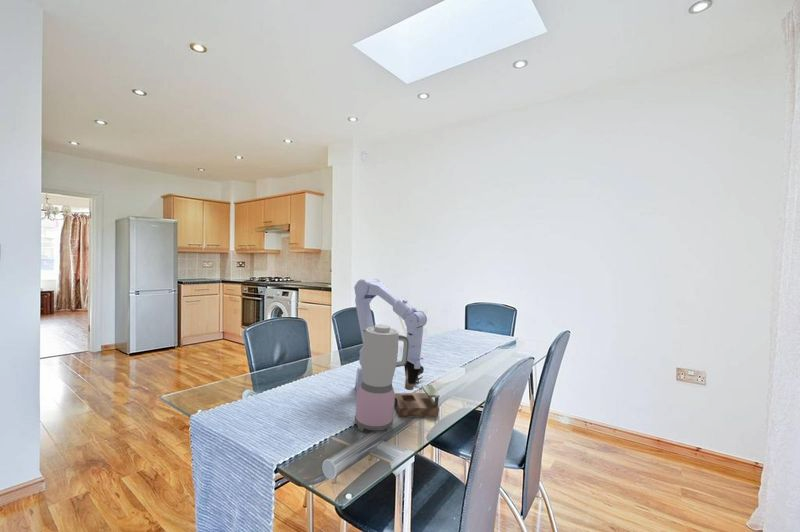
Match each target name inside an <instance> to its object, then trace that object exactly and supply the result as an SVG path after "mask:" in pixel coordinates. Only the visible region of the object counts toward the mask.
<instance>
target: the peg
mask: <svg viewBox="0 0 800 532" xmlns="http://www.w3.org/2000/svg"><path fill="white" fill-rule="evenodd" d="M404 381H405V382H404V389H405V390H406V391H413V390H414V387H415V384H409V383H408V371H407V369H406V376H405V380H404Z"/></svg>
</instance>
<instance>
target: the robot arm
mask: <svg viewBox="0 0 800 532" xmlns="http://www.w3.org/2000/svg"><path fill="white" fill-rule="evenodd" d="M353 288H354V294H355V297H354V298H355V299H354V300H355V302H354V304H355V310H356V314H357V319H358V325H359V328H360V329H359V330H360V333H361V340H362V342H363V340H364V332H362V331H363V330H365V329H367V328H369V327H374V326H375V324H374V321H373V315H372V310H371V305H370V304H371V302H372V300H373V299H375V298H376V296H378V297H379V298H381V299H383V300H384V301H385V302H386V303H388V304H389V305H390V306H391V307H392V311H393V312H394V313H395V314H396V315H398V316H399V317H400V319H402V320H403V321H404V324H405V327H406V337H407V338H408V341H409V348H408V357H407V363H406V364H405V365H404V366H403V368H404V374H405V375H404V376H405V377H406V369H407V371H408V383H409V384H414V383H415V381H416V378H417V375H418V373H419V371H420V370H421V368H422V365H421V361H422V360H424V356H423V355H421V354H422V344H423V333H424V327H425V326H426V324H427V321H428V318H427V315H426V314H425V312H424V311H422V310H417V308H416V307H413V306H412V305H410V304H409V302H408V300H407V299H405V298H404V299H403V298H398V297H396V295H394V294H393V292H391V291H390V290H389V289H388V288H387V287H386V286H385V284H384V282H382V281H381V280H380V279H378V278H374V279H359V280H358V281H357V282H356V284H355V285H354V286H353ZM362 349H363V345H362V346H361V348H360V350H359V352H358V353H359V359H358V360H359V365H360V367H357V369H356V374H355V375H356V376H355V383H354V386H355V390H356V394H357V393H358V390H359V388H360V386H361V384H362V381H363V374H362ZM415 384H416V383H415ZM415 384H414V385H415Z"/></svg>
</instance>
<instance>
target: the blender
mask: <svg viewBox="0 0 800 532" xmlns="http://www.w3.org/2000/svg"><path fill="white" fill-rule="evenodd" d="M362 332H364V340H363V341H362V346H363V349H362V374H363V381H362V384H361V386H360V388H359V390H358V393H357V392H356V405H355V406H356V407H355V414H354V421H355V424H356V425H357V429H358V430H359V431H361V432H363V431H364V430H369V431H370V430H371V431H380V430H386V431H387V430H388V431H390V430H391V428H392V425H393V420H394V409H395V407H397V398H395V393H396V392H395V390H394V387H393V380H394V379H393V378H394V376H395V371H396V369H397V368H400V367H404V365H405V364H406V363H407V357H408V348H409V341H408V338H407V336H405V335H402V334H401V335H400V334H399V333H400V332H399V331H398V330H397V329H395V328H392V327H391V326H389V325H387V324H374V327H369V328H367V329H365V330H363V331H362ZM399 341H400V342H403V347H402V356H401V360H399V361H398V353H399ZM389 429H390V430H389Z"/></svg>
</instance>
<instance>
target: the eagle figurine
mask: <svg viewBox="0 0 800 532" xmlns="http://www.w3.org/2000/svg"><path fill="white" fill-rule="evenodd" d="M421 366H422V365H421ZM424 370H425V369H424V366H422V368H421V370H420V371H419V373H418V375H417V378H416V381H415V384H416V383H417V382H418V381H419V380H421V379H423V377H424V376H423V375H422V374H423V373H424V372H425V371H424ZM420 375H422V376H420ZM419 376H420V377H419Z"/></svg>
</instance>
